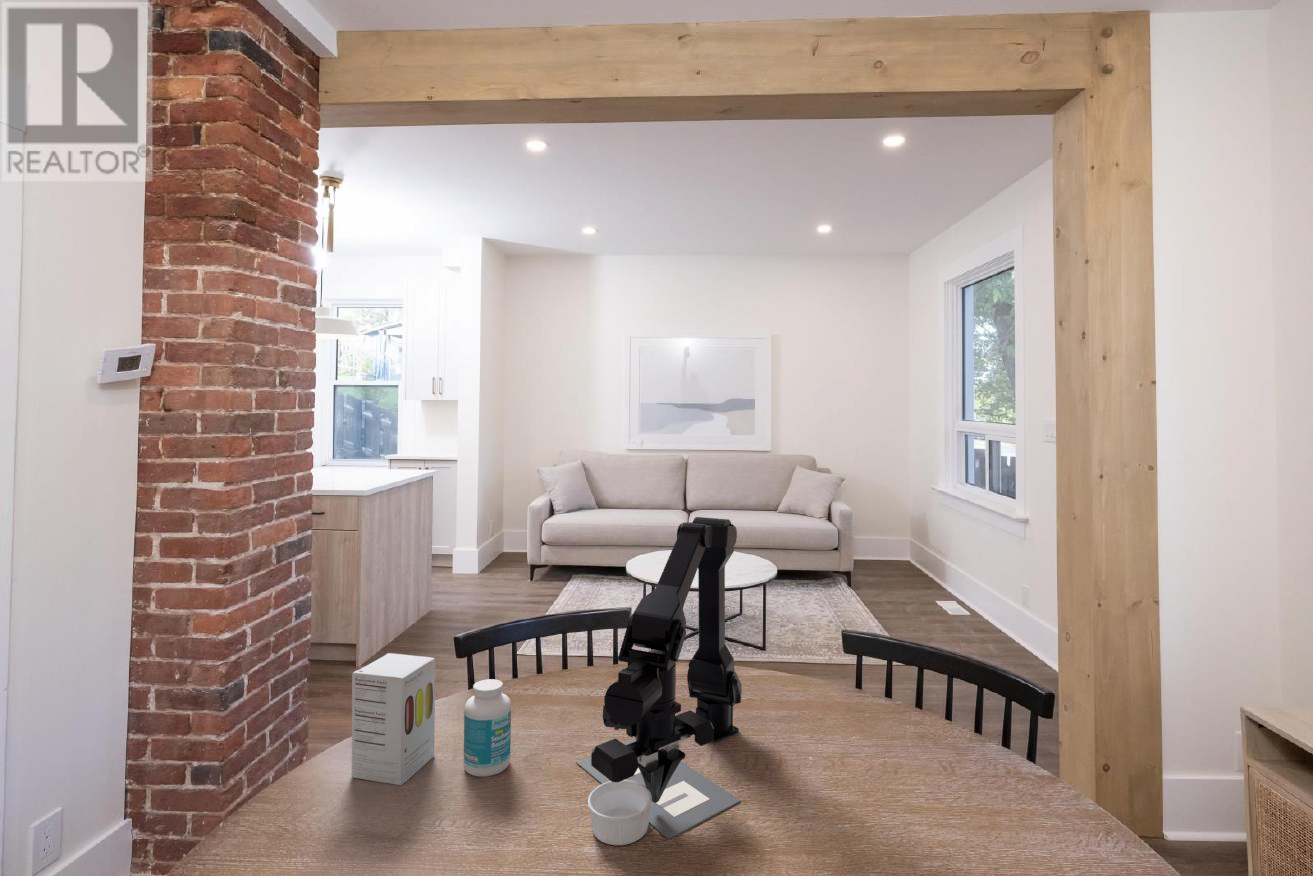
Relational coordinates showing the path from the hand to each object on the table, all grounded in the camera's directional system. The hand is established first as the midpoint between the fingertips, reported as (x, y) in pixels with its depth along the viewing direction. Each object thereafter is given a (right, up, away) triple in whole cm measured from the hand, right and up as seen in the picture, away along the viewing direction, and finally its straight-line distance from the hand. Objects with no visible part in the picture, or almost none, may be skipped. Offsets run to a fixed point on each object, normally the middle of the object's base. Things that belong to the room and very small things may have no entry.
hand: (654, 801), depth 92 cm
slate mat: (0, -1, +8) cm, 8 cm away
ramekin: (-5, -2, -4) cm, 6 cm away
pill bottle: (-27, -1, +11) cm, 30 cm away
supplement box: (-42, -1, +11) cm, 44 cm away
